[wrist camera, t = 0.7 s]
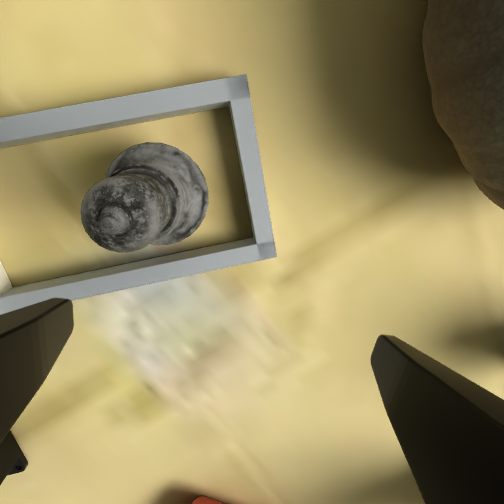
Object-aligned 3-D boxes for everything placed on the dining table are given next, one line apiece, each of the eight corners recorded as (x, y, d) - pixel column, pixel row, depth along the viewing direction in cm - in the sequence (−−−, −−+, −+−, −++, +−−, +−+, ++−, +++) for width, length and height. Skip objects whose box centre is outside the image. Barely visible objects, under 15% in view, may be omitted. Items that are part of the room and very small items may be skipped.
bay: (2, 305, 22) (-30, 327, 19) (-79, 140, 18) (-134, 136, 15) (271, 249, 23) (279, 261, 20) (243, 83, 19) (247, 69, 16)
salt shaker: (226, 199, 21) (238, 242, 10) (162, 248, 22) (101, 343, 10) (172, 127, 19) (109, 75, 8) (103, 181, 20) (-49, 205, 9)
